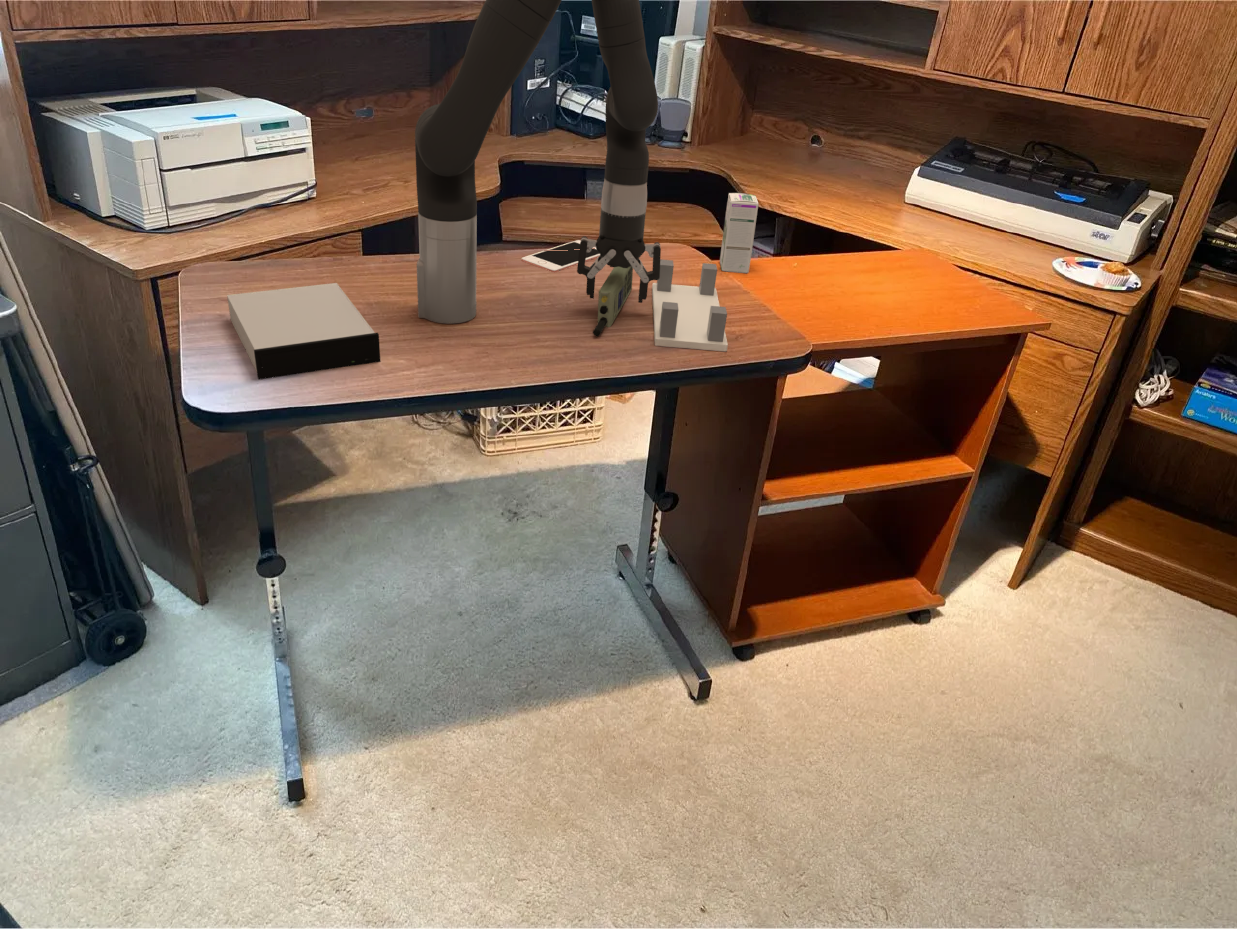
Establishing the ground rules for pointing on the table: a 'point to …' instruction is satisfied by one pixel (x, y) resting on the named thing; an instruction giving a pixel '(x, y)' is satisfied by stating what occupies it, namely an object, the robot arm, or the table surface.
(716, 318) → the rack
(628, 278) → the handheld radio
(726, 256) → the syrup box
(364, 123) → the table surface
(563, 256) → the cell phone
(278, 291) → the disc drive
